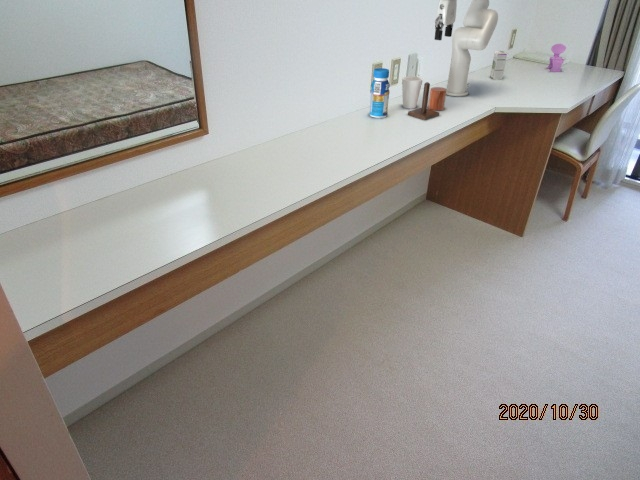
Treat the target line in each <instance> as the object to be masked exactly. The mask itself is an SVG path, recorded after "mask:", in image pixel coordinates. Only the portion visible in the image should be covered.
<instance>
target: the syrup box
mask: <svg viewBox="0 0 640 480" xmlns="http://www.w3.org/2000/svg"><path fill="white" fill-rule="evenodd" d="M507 58H508V52H506V51H505V50H494V54H493V59H492V63H491V64H492V65H491V70H490V74H489V77H490V78H491V79H492V80H503V78H504V72H505V67H506V63H507Z"/></svg>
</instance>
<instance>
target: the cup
mask: <svg viewBox="0 0 640 480" xmlns="http://www.w3.org/2000/svg"><path fill="white" fill-rule="evenodd" d="M446 89H447V88H445V87H441V86H433V87H431V88H430V89H429V96H428V104H427V109H429V110H433V111H436V112H439V111H444V109H445V103H446V97H447V95H446Z"/></svg>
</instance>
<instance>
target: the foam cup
mask: <svg viewBox="0 0 640 480" xmlns="http://www.w3.org/2000/svg"><path fill="white" fill-rule="evenodd" d="M422 85H423V78H422V77H420V76H414V75H413V76H412V75H411V76H409V75H408V76H407V75H406V76H402V77H401V87H402V88H401V91H402V107H403V108H405V109H417V105H418V100H419V97H420V92H421V89H422Z"/></svg>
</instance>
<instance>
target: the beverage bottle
mask: <svg viewBox="0 0 640 480" xmlns="http://www.w3.org/2000/svg"><path fill="white" fill-rule="evenodd" d="M372 76H373V80H372V82H371V83H370V87H371V89H370V90H369V91H370V92H369V93H370V96H369V98H370V99H369V116H370V117H372V118H375V119H376V118H377V119H383V118H386V117H388V113H389V112H388V111H389V100H390V87H391V85H390V82H389V80H388V79H389V77H390V69H389V68H383V67H378V68H374V69H373V75H372Z"/></svg>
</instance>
